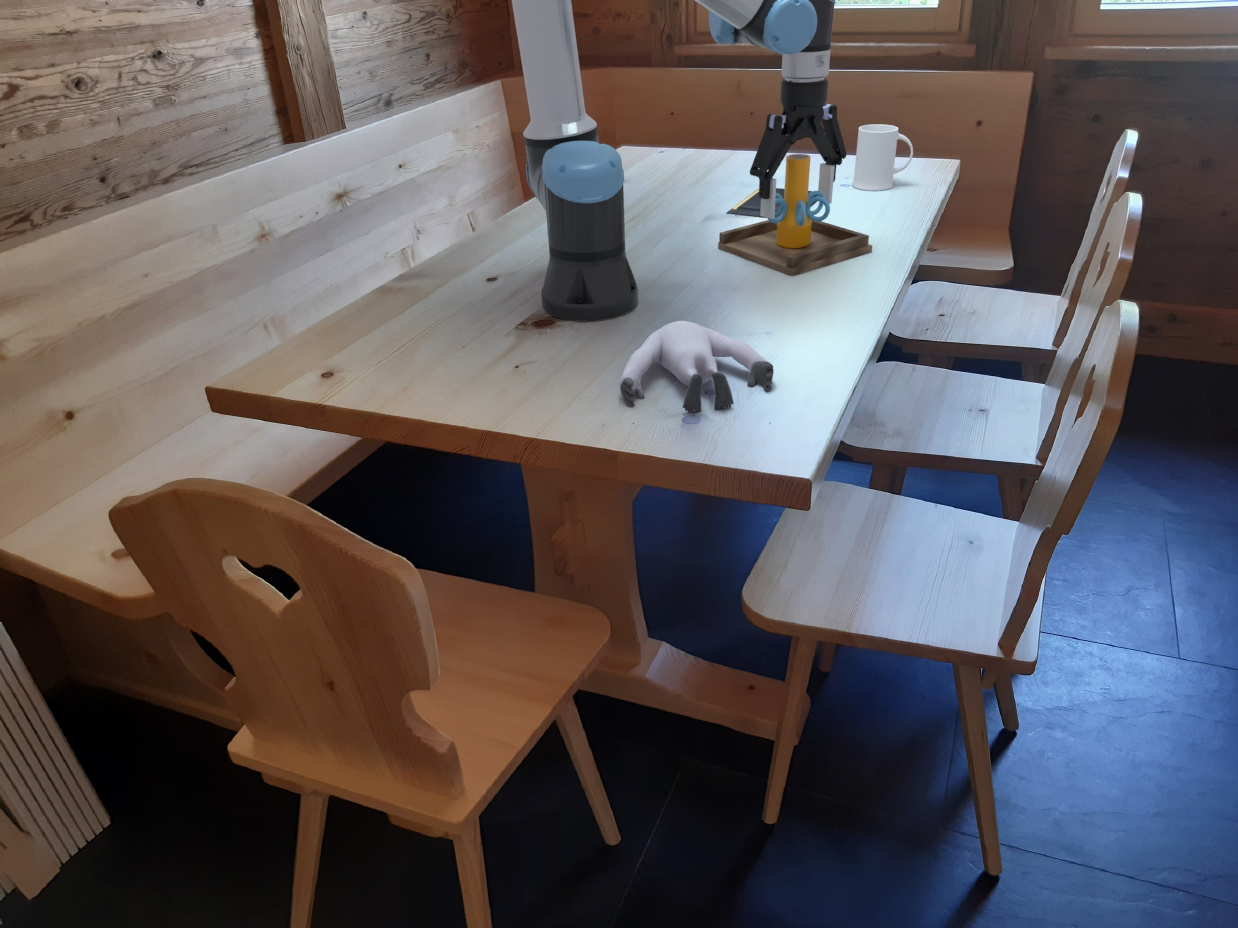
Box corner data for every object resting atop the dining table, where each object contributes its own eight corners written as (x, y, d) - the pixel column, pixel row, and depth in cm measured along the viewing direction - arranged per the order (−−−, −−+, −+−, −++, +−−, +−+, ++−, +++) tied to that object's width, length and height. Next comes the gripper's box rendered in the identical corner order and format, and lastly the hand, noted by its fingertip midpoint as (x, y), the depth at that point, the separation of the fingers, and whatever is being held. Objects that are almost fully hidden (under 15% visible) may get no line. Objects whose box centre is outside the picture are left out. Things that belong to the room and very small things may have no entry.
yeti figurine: (779, 424, 112) (754, 354, 129) (788, 375, 108) (760, 310, 125) (620, 419, 111) (615, 349, 128) (623, 369, 107) (618, 304, 124)
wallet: (795, 215, 176) (722, 207, 182) (795, 224, 177) (722, 216, 183) (827, 189, 191) (758, 183, 197) (826, 198, 192) (758, 192, 198)
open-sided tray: (792, 276, 150) (793, 258, 149) (718, 248, 164) (718, 232, 162) (871, 251, 159) (873, 235, 158) (794, 227, 173) (795, 212, 171)
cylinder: (749, 249, 159) (752, 161, 152) (770, 232, 167) (774, 147, 160) (817, 257, 154) (824, 166, 147) (835, 239, 162) (842, 152, 154)
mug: (909, 182, 198) (916, 124, 192) (908, 192, 191) (915, 133, 185) (853, 180, 201) (858, 123, 195) (850, 190, 194) (856, 132, 188)
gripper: (763, 90, 138) (757, 228, 149) (875, 71, 150) (862, 200, 161) (730, 85, 144) (727, 218, 155) (841, 67, 155) (831, 192, 166)
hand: (796, 209), depth 158 cm, fingers open, 13 cm apart
